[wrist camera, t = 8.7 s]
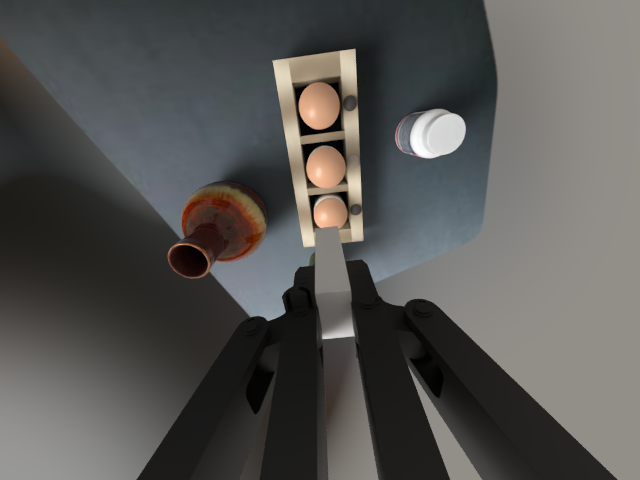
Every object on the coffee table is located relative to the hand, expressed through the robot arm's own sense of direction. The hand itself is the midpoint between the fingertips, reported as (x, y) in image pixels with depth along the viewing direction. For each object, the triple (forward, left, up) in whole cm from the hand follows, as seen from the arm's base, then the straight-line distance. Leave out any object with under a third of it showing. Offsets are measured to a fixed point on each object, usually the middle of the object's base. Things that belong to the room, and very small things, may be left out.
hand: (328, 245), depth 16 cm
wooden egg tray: (-3, +1, -21) cm, 21 cm away
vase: (+3, -14, -21) cm, 26 cm away
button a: (-10, +1, -20) cm, 22 cm away
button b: (-3, +1, -18) cm, 19 cm away
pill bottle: (-5, +13, -21) cm, 26 cm away
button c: (+3, +1, -20) cm, 21 cm away
